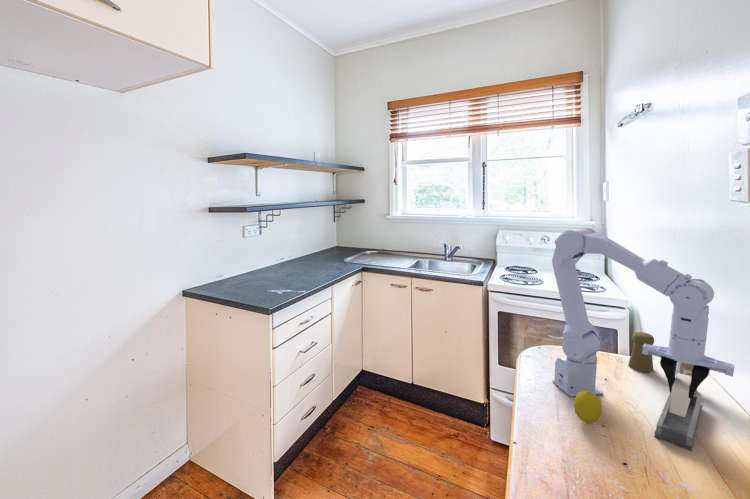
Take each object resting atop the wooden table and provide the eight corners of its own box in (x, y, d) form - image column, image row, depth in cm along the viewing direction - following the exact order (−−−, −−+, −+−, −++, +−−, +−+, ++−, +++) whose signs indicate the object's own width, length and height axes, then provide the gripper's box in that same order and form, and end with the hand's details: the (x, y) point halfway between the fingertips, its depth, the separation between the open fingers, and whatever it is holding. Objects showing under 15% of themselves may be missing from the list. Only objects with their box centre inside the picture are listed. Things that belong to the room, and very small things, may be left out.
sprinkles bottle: (691, 395, 87) (697, 347, 85) (670, 387, 91) (675, 340, 89) (700, 391, 89) (706, 343, 87) (679, 382, 93) (684, 337, 91)
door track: (691, 451, 68) (693, 438, 68) (654, 436, 73) (655, 424, 72) (701, 409, 81) (703, 397, 81) (669, 398, 86) (670, 388, 85)
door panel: (685, 417, 71) (687, 391, 70) (669, 412, 73) (672, 386, 72) (689, 401, 76) (692, 376, 75) (675, 396, 78) (677, 372, 77)
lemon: (601, 434, 74) (603, 401, 73) (572, 426, 77) (574, 394, 76) (600, 419, 79) (602, 388, 78) (573, 412, 82) (575, 382, 80)
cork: (658, 372, 98) (662, 337, 97) (638, 373, 99) (641, 337, 97) (642, 362, 104) (645, 329, 103) (623, 363, 105) (626, 329, 103)
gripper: (737, 339, 69) (729, 399, 71) (648, 322, 80) (644, 374, 82) (736, 350, 64) (728, 414, 66) (642, 330, 75) (637, 386, 77)
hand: (681, 393), depth 74 cm, fingers closed on door panel, 2 cm apart
